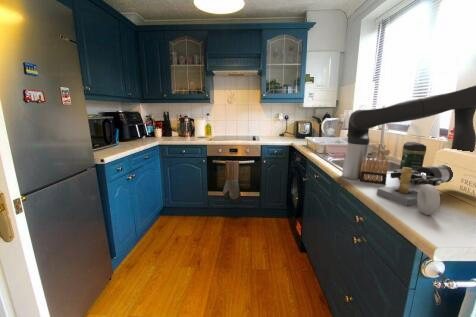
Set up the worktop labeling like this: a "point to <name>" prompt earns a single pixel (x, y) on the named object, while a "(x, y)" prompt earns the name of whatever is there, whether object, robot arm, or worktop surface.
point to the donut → (428, 199)
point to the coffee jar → (413, 155)
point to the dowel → (405, 180)
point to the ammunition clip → (376, 172)
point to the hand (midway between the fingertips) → (402, 178)
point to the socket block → (399, 195)
